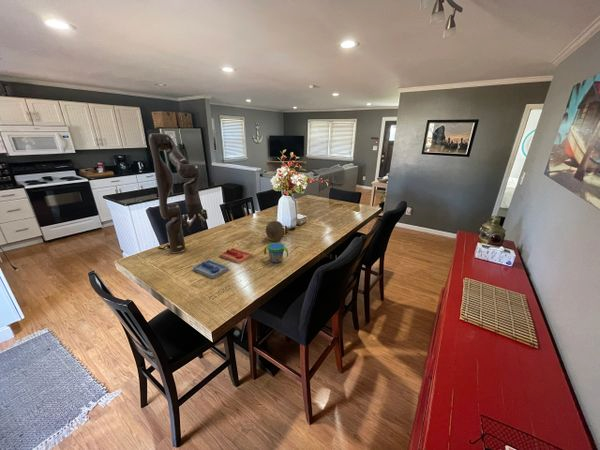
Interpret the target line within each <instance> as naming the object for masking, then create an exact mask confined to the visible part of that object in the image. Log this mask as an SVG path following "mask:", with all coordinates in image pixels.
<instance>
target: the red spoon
mask: <svg viewBox="0 0 600 450" xmlns="http://www.w3.org/2000/svg"><path fill="white" fill-rule="evenodd" d="M229 249H230V248H229ZM229 249H226V251H227V254H230V255H233V256H236V258H237V259H241V258H243V254H242V253H239V254H238V252H235V251H232V250H229Z"/></svg>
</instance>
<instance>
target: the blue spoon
mask: <svg viewBox="0 0 600 450" xmlns="http://www.w3.org/2000/svg"><path fill="white" fill-rule="evenodd" d="M201 263H202V266H203V267H205V268H207V269H210V270H211V273H217V272H219V271H220V269H219V267H214V266H213V265H210V264H208V263H206V262H204V261H202V262H201Z"/></svg>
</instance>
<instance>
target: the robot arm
mask: <svg viewBox="0 0 600 450" xmlns="http://www.w3.org/2000/svg"><path fill="white" fill-rule="evenodd" d="M148 144H149V149H150V153H151V157H152V161H153V168H154V175H155V182H156V188H157V192H158V193H157V194H158V205H159V206H158V207H159V213H160V216H161V218H162V219H164V220H169V219H171V220H169V221H168V222H167V223H165V228H166V234H167V240H168V243H167V244H166V245H164V246H163V247H161V246H158V249H160V250H164V249H166V248H167V249H169V250H170V251H169V252H170V253H171V254H182V253H184V252H186V250H187V247H186V242H185V237H184V236H185V235H184V230H183V226H185V227H186V230H187V232H189V233H192V232H193V229H192V224H193V222H194V221H196V220H200V224H201V228H203V229H204V228H206V220H208V219H209V218H208V217H209V216H208V211H207V209H204V208H202V204H201V197H200V193H199V191H200V190H199V179H200V168H199V166H198V165H197V164H195V163H189V160H188V159H187V158H186V157H185V156H184V155H183V154H182V153H181V152H180V150H179V148H178V147H177V144H176V143H175V142H174V140H173V138H172V137H171V136H170V135H169V134H167V133H154V132H153V133H149V135H148ZM160 151H163V152H164V151H169V152H168V159H169V161H170V162H171V164H172V165H173V166H174V168H175V169H176V174H177V175H178V177H179V178H180V179H185V180H186V179H190V180H189V181H187V182H185V183H183V193H184V202H185V209H186V214H182V212H181V207H180V205H179V204H178V203H177V202H171V203H168V198H169V196H170V193H171V192H172V190H173V187H174V183H175V182H174V175H173V172H172V170H171V168H170V167H169V166H168V165H167V164H166V163H165V162H164V160H163V159H162V157H161V154H160Z"/></svg>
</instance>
